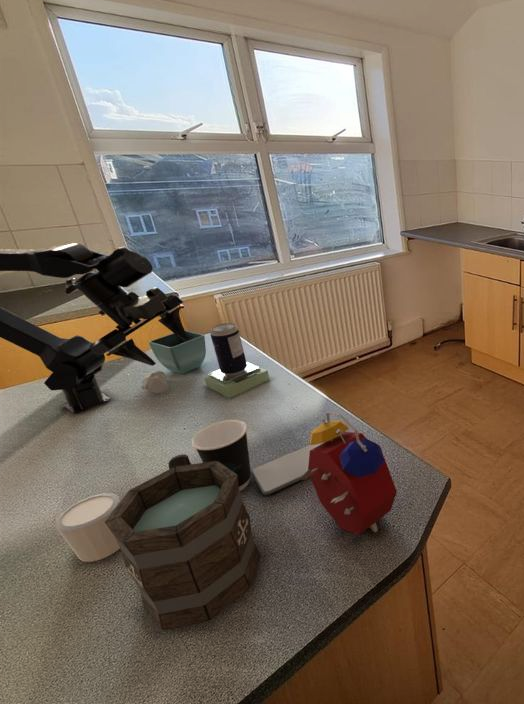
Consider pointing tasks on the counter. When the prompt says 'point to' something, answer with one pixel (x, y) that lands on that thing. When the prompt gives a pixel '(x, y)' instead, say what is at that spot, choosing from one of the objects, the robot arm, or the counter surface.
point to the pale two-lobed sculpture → (155, 382)
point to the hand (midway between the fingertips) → (171, 352)
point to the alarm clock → (350, 476)
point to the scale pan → (229, 378)
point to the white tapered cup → (89, 527)
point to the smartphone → (282, 470)
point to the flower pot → (180, 351)
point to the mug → (186, 541)
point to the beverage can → (228, 348)
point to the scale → (238, 383)
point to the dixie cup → (226, 447)
